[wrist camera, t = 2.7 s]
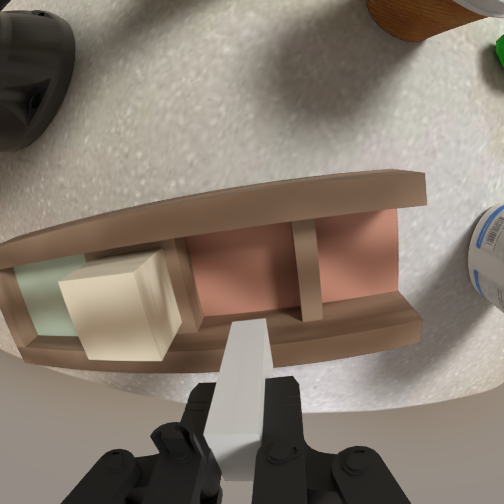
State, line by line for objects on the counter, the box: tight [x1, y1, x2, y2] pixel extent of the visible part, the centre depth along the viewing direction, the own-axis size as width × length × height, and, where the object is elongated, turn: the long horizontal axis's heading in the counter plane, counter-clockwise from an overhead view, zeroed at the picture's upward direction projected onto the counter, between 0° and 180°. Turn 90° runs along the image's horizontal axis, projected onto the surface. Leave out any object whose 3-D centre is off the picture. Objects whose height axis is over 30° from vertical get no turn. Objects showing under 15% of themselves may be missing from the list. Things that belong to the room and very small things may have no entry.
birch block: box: [58, 247, 182, 361], centre depth 19 cm, size 6×6×5 cm
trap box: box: [0, 169, 427, 373], centre depth 22 cm, size 12×36×6 cm, turn 99°
